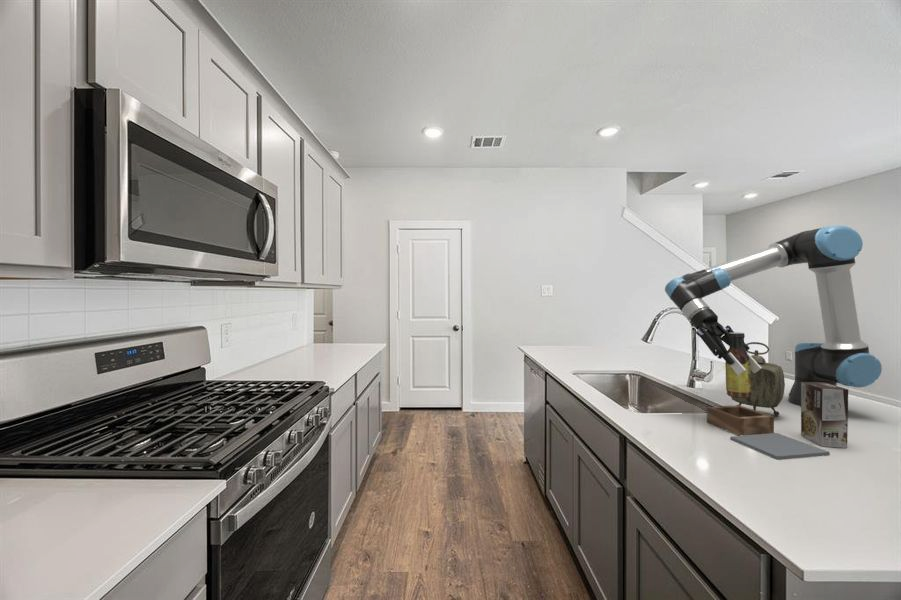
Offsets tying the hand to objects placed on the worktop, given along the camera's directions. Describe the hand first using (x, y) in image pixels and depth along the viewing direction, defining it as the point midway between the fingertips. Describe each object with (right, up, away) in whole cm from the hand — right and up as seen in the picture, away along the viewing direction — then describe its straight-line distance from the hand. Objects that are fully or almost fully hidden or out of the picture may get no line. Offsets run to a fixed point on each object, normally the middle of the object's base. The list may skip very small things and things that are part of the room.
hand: (749, 371), depth 121 cm
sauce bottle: (-1, -9, +4) cm, 9 cm away
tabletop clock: (+14, -18, +17) cm, 29 cm away
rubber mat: (-1, -19, -12) cm, 22 cm away
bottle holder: (-1, -18, +4) cm, 19 cm away
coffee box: (+15, -19, -8) cm, 25 cm away
